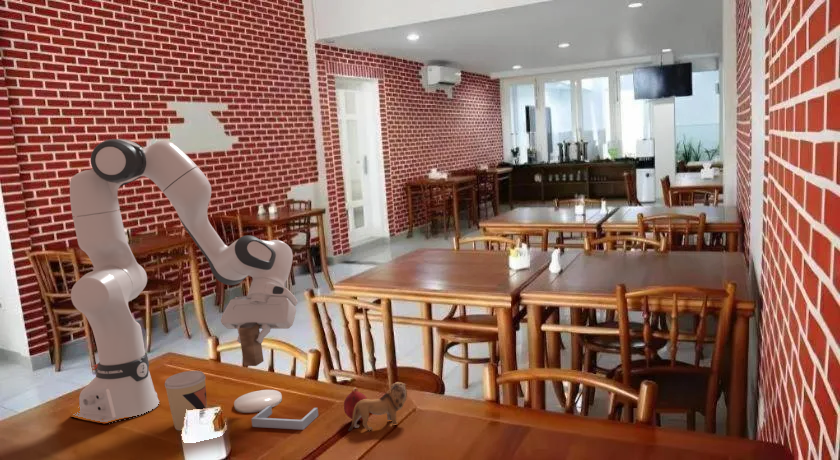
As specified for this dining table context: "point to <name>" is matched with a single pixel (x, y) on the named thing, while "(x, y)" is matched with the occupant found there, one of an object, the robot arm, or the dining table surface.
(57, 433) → the dining table surface
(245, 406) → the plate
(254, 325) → the brown rectangular block
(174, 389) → the coffee cup
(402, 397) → the lion figurine
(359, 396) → the onion
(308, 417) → the grey u-shaped bracket
